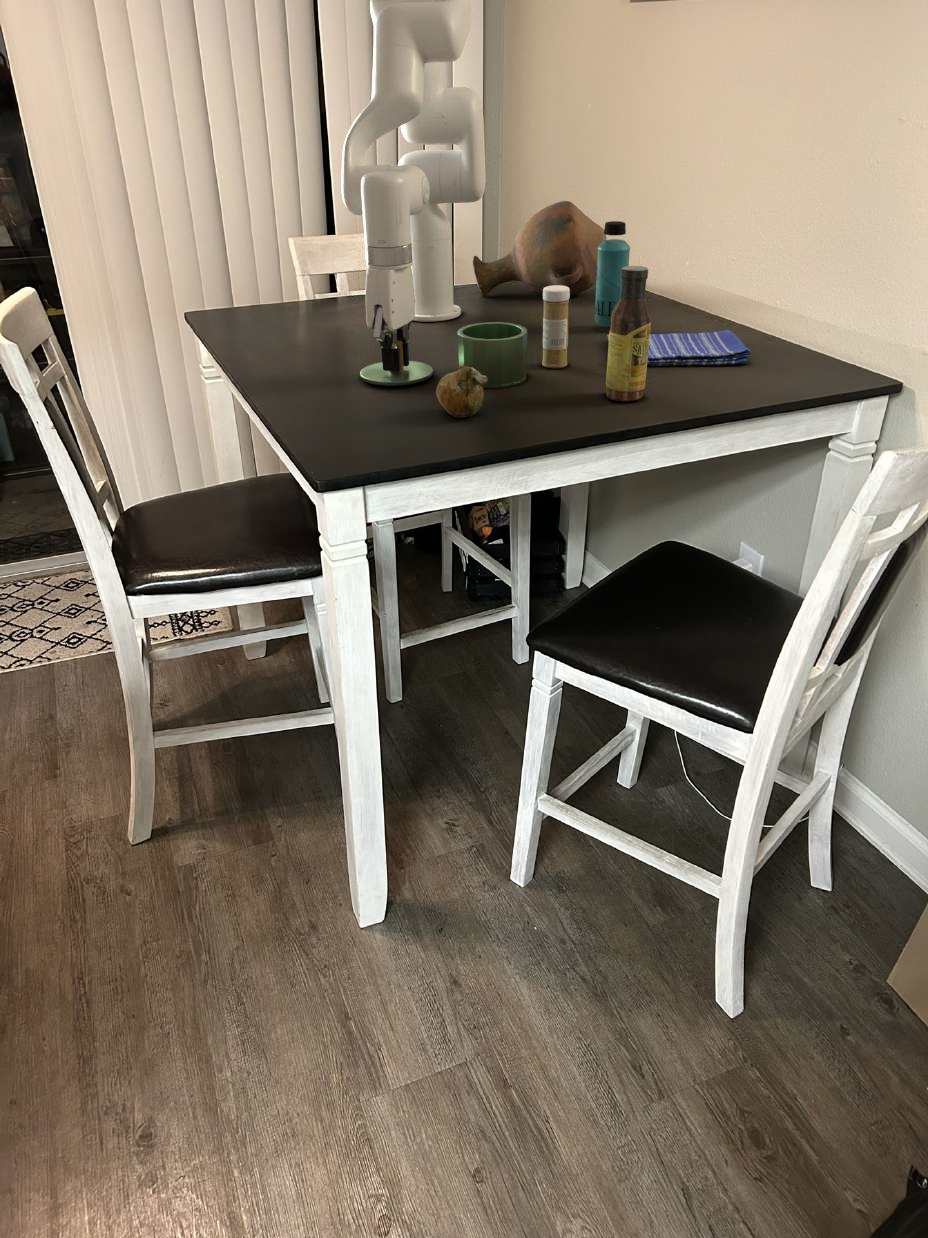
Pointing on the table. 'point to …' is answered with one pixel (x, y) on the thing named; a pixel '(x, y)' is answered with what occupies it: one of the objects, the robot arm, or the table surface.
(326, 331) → the table surface
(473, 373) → the onion
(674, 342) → the dish towel
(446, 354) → the table surface
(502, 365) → the tin
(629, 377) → the sauce bottle
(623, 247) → the beverage bottle
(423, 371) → the tin lid
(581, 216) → the jug
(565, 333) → the sprinkles bottle
